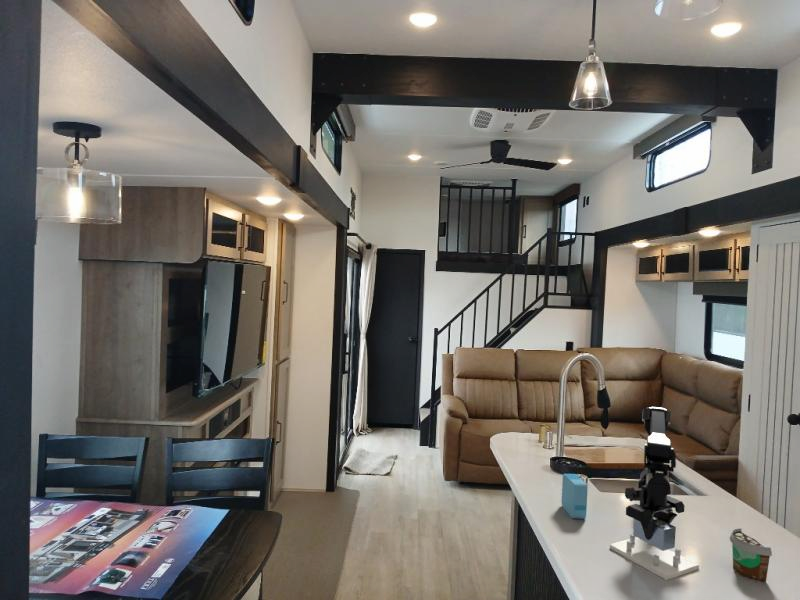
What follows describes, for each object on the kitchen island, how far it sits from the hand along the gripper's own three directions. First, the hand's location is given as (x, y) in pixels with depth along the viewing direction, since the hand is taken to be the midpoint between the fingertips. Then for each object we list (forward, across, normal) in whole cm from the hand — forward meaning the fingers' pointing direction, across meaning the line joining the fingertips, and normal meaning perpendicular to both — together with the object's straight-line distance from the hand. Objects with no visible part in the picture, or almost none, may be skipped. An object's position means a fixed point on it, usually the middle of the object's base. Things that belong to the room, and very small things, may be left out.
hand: (653, 537), depth 158 cm
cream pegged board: (+6, 0, 0) cm, 6 cm away
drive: (+1, 0, 0) cm, 1 cm away
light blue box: (+6, -2, -33) cm, 34 cm away
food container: (+6, -17, +16) cm, 24 cm away
